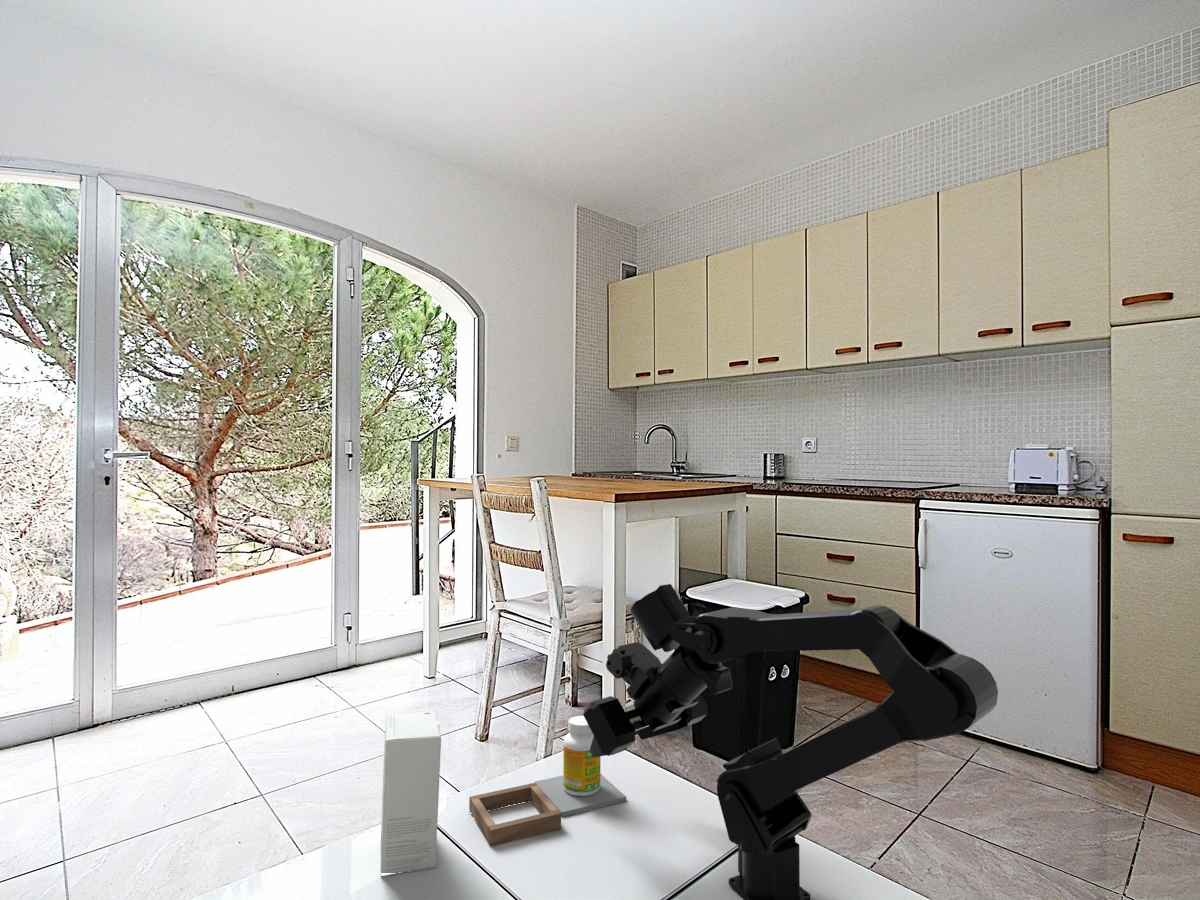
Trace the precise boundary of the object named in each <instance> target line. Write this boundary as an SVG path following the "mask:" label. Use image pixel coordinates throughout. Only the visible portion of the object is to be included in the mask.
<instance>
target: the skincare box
mask: <svg viewBox="0 0 1200 900" xmlns="http://www.w3.org/2000/svg"><path fill="white" fill-rule="evenodd" d="M385 718H386V719H385V730H384V743H383V744H384V748H383V750H384V751H383V766H382V767H383V772H382V773H383V775H382V792H381V793H382V795H381V797H382V799H381V831H380V832H381V833H380V874H381V873H399V872H407V873H412V872H411V871H413V872H418V870H419V871H425V870H429V869H435V868H436V863H437V861H436V860H437V841H438V840H437V839H438V837H437V836H438V816H439V815H438V814H439V797H440V795H439V794H440V773H441V750H442V749H441V748H442V736H441V729H440V725H441V722H440V720H439V719H438V714H437V710H433V711H432V710H431V711H423V712H422V711H421V712H420V711H419V712H411V713H401V714H399V713H398V714H397V713H396V714H389V715H386V717H385ZM416 870H417V871H416ZM409 871H410V872H409Z"/></svg>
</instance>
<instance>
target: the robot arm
mask: <svg viewBox="0 0 1200 900" xmlns="http://www.w3.org/2000/svg"><path fill="white" fill-rule="evenodd" d="M630 614H631V616H632V617H633V619H634V621H635V622H636V624H637V625H638V627H639V628H640V630H641V632H642V633H643V634H644V636H645V638H646V640H647V641H648V642H649V646H651V647H652V649H653V650H654V651H657V650H661V649H662V651H663V652H664V653H669V652H672V651H673V652H672V653H671V654H670V655H669V656H668V657H667V658H666V660H664V662H663V663H662V662H661V660H660V659H659V657H658V656H656V654H654V653H653V652H652V651H651V650H650V649H649V648H647V647H646V646H645V645H644V644H643V643H641V642H631V643H627V644H622V645H619V646H617V648H614V649H612V652H611V653H610V654H608V655H607V660H606V663H605V667H606V670H607V671H608V672H609V673H610V674H611V675H612V676H614V678H615V679H617V680H619V679H622V680H623V681H624V682H625V683H626V684H627V685H629V686H628V687H627V688H626V690H625V691H626V693H627V694H628V696H629V698H630V699H633V700H634V701H633V706H634V708H633V709H630V710H627V711H625V709H624V707H623V705H622V703H621V701H620V700H619V698H617V697H615V696H607V697H603V698H599V699H596V700H593V701H590V703H589V704H588V705H587V706H586V707H585V709H584V711H583V715H582V716H584V717H585V719H586V721H587V723H588V725H589V727H590V729H591V731H592V733H593V735H594V737H593V740H592V744H591V747H590V752H591V754H592V756H593V758H595V757H600V758H601V757H604V756H605V757H606V756H608V757H609V756H613V755H616V754H618V753H622V752H624V751H626V750H628V748H629V747H631V746H632V745H633V744H634V743H635V742H636V731H638V732H637V735H638V737H639V739H640V740H646V739H650V738H653V737H656V736H661V735H664V734H665V735H666V734H667V733H673V732H676V731H679V730H682V729H685V728H687V727H689V726H693V724H696V723H699V722H701V721H702V720H703V719H704V718H705V717H706V716H707V715H708V704H707V702H706V701H705V699H704V697H703V696H702V694H701V693H703V692H704V691H705V690H706V688H708V689H709V691H710V693H711V694H712V695H717V694H721V693H723V692H727V691H729V690H732V689H733V687H734V685H733V679H732V676H731V668H730V667H727V666H724V665H723V663H725V662H728V661H734V660H736V659H741V658H744V657H748V656H752V655H756V654H760V653H763V652H764V653H765V652H797V651H799V652H802V651H803V652H805V651H836V650H837V651H838V650H839V651H841V650H858V651H860V652H861V653H862V654H864V655H865V656H866V657H867V658H868V659H869V661H870V662H871V664H873V666H874V668H875V669H876V670H877V672H878V673H879V675H880V676H881V678H882V679H883V680H884V682H885V683H886V684H887V685H888V687H889V688H890V689H892V692H890V693H889V694H888V696H887V697H885V699H883V700H882V701H881V702H880V703H879V704H878V705H877V706H874V707H873V708H871V709H869V710H867V711H864V712H863V713H860V714H859V715H857V716H855V717H853V718H850V719H849V720H847V721H845V722H842V723H841V724H839V725H838V726H837V725H836V726H835V727H833V728H831V729H829V730H827V731H825V732H823V733H821V734H819V735H817V736H815V737H813V738H812V739H809V740H807V741H806V742H803V743H802V744H799V745H797V746H796V747H793V748H788V749H787V748H786V749H782V747H781V745H780V743H779V740H778V738H777V737H775V738H773V739H771V740H769V741H767V742H765V743H763V744H761V745H758V746H756V747H755V748H753V749H751V750H748V751H747V752H745V753H742V755H739V756H737V757H735V758H733V759H731V760H729V761H727V762H725V763H722V767H723V769H724V770H725V771H723V772H721V773H720V774H719V775H718V777H717V778H716V783H717V785H716V792H717V793H716V794H717V799H718V802H719V806H720V809H721V813H722V816H723V817H722V818H723V820H724V824H725V825H724V826H725V828H726V833H727V835H728V840H729V841H730V842H731V843H732V844H735V845H737V847H738V848H737V851H738V852H737V856H738V857H737V862H738V863H737V870H738V873H739V874H738V875H735V876H733V877H729V878H728V886H729V887H730V888H732V889H733V890H734V891H735V892H736V893H737V894H739V895H740V896H741V897H742V898H743V899H744V900H810V899H811V897H812V896H811V893H810V892H808V891H807V890H806V889H805V888H803V887H802V886H800V883H801V882H800V872H801V870H800V868H801V867H800V862H801V861H800V844H799V843H798V842H797V841H796V836H797V835H798V834H800V833H801V832H802V831H806V830H807V828H808V827H809V824H810V821H811V817H812V813H811V811H810V809H809V807H807V805H806V803H805V802H804V801H803V798H801V796H800V794H799V793H800V792H801V791H802V790H803V789H804V788H805V787H806V786H808V785H811V784H813V783H815V782H817V781H819V780H822V779H823V778H827V777H828V776H831V775H833V774H835V773H837V772H840V771H841V770H843V769H846V768H849V767H850V766H852V765H855V764H857V763H858V762H861V761H863V760H865V759H867V758H870V757H872V756H875V755H877V754H879V753H881V752H883V751H885V750H887V749H889V748H892V747H894V746H897V745H898V744H903V743H912V742H914V743H915V742H926V741H932V740H936V739H940V738H941V739H942V738H946V737H950V736H951V737H952V736H955V735H960V734H962V733H963V732H965V731H967V729H969V728H970V727H972V726H973V725H974V724H976V723H977V722H978V721H980V720H981V719H982V718H984V717H985V716H986V715H988V714H990V712H992V711H993V710H994V709H995V707H996V706H997V704H998V696H999V689H998V685H997V684H998V683H997V682H996V680H995V678H994V676H993V674H992V672H991V671H990V670H989V669H988V668H987V667H986V666H985V665H984V664H983V663H981V662H980V661H979V660H977V659H975V658H973V657H970V656H967V655H966V654H965V655H964V654H963V653H959V652H957V651H956V650H955V649H954V648H952V647H950V646H949V645H948V644H947V643H945V641H943V640H941V639H939V638H937V637H936V636H934V635H932V634H930V633H929V632H927V631H924V630H923V629H921V628H920V627H917V626H915V624H912V623H910V622H909V621H908V620H906V619H905V618H904V617H903V616H901V615H900V614H899V613H898V612H896V611H895V610H893V609H892V608H890V607H888V606H885V605H880V604H878V605H877V604H876V605H872V606H869V607H865V608H854V609H853V608H852V609H840V610H838V609H837V610H835V609H834V610H826V611H825V610H823V611H808V612H807V611H806V612H794V613H780V614H776V613H774V614H773V613H767V612H764V611H761V610H758V609H751V608H745V607H738V606H737V607H736V606H735V607H734V606H733V607H728V608H723V609H719V610H714V611H709V612H705V613H701V614H698V615H695V616H694V615H693V616H692V615H691V614H690V612H689V610H687V608H686V606H685V605H684V604H683V602H682V601H681V599H680V598H679V596H678V594H677V591H676V590H675V588H674V587H673V585H672V584H671V583H667V584H662V585H661V584H660V585H659V586H658V587H657V588H656V589H655V590H653V591H651V592H649V593H648V594H646V595H645V596H643V597H641V598H640V599H637V600H636V601H635V602H634V603H633V604H632V606H631V608H630ZM811 900H812V899H811Z"/></svg>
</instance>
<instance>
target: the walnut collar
mask: <svg viewBox="0 0 1200 900" xmlns="http://www.w3.org/2000/svg"><path fill="white" fill-rule="evenodd" d="M468 800H469V803H468V806H469V807H468V808H469V810H470V812H471V813H472V815H473V817H474V819H475V820H474V819H473V820H474V822H475V821H476V822H475V824H476V823H477V824H476V825H477V827H478V828H479V830H480V832H481V834H482V835H483V837H484V839H485V840H486V842H487V844H488V845H489V847H490V848H491V847H495V846H499V845H503V844H506V843H511V842H515V841H519V840H523V839H526V838H529V837H530V838H531V837H534V836H539V835H542V834H546V833H550V832H554V831H558V830H561V829H562V817H561V812H560V811H559V810H558V809H557V808H556V807H555V805H554V804H553V803H552V802H551V801H550V800H549V799H548V797H547V796H546V795H545V794H544V793H543V792H542V791H541V789H540V788H539V787H538V786H537V785H536V784H535V782H531V783H527V784H522V785H517V786H514V787H509V788H504V789H499V790H495V791H490V792H486V793H485V792H484V793H482V794H481V793H480V794H476V795H472V796H469V799H468ZM528 801H531V802H532V803H531V802H530V803H531V804H532V806H533V807H534V808H535V809H536V811H537V812H538V813H537V814H535V815H530V816H526V817H523V818H518V819H513V820H509V821H505V822H501V823H496V822H495V820H494V819H493V817H491V815H490V813H489V811H488V810H492V811H494V810H493V809H496V810H498V809H497V808H501V807H505V806H508V805H513V804H518V803H522V802H527V803H529V802H528ZM522 804H523V803H522ZM518 805H519V804H518ZM505 808H506V807H505ZM501 809H502V808H501ZM469 810H468V811H469ZM470 812H469V813H470ZM473 817H472V818H473Z"/></svg>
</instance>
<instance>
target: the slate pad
mask: <svg viewBox="0 0 1200 900" xmlns="http://www.w3.org/2000/svg"><path fill="white" fill-rule="evenodd" d="M534 783H535V784H536V785H537V786H538V787H539V788H540V789H541V791H542V792H543V793H544V794H545V795H546V796H547V797H548V799H549V800H550V801H551V802H552V803H553V804H554V805H555V807H556V808H557V809H558V810H559V811H560V812H561V818H563V817H567V816H571V815H575V814H579V813H583V812H587V811H591V810H595V809H596V810H597V809H599V808H603V807H607V806H612V805H615V804H620V803H624V802H627V796H626V795H625V794H624V793H623V792H622V791H621V790H620V789H619V788H618V787H616V786H615V785H614V784H613V783H612V782H610V781H609V780H608V779H607V778H606V777H605V776H604V775H603V774H602V773H600V789H599V790H598V791H597V792H596V793H595V794H593V795H589V796H574V795H571V794H568V793H567V792H566V791H565V790H564V787H563V775H560V776H554V777H549V778H544V779H540V780H536V781H535V780H534Z"/></svg>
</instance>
